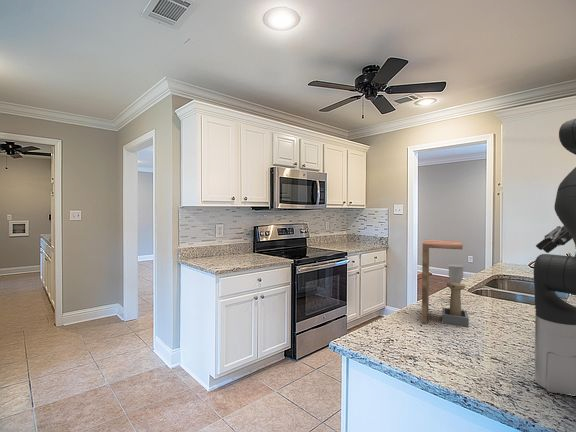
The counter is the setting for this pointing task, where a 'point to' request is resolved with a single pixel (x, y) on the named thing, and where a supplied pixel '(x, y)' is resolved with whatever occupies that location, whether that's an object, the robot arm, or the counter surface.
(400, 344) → the counter surface
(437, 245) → the wooden l-shaped bracket
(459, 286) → the tan headed rod
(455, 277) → the chalice
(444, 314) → the socket
